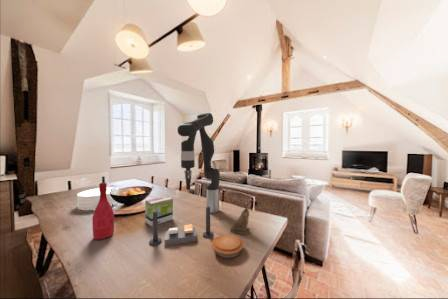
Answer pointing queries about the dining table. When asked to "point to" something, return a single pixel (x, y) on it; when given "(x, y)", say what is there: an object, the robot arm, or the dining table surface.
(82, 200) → the plate stack
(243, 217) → the worn brown figurine
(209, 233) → the dark grey peg stand
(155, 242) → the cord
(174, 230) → the white slab
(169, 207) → the tea box
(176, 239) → the large grey rectangular block
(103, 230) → the wine bottle
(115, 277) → the dining table surface
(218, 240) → the pie
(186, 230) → the orange slab
